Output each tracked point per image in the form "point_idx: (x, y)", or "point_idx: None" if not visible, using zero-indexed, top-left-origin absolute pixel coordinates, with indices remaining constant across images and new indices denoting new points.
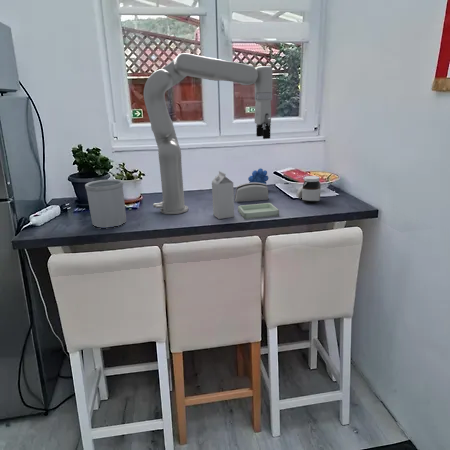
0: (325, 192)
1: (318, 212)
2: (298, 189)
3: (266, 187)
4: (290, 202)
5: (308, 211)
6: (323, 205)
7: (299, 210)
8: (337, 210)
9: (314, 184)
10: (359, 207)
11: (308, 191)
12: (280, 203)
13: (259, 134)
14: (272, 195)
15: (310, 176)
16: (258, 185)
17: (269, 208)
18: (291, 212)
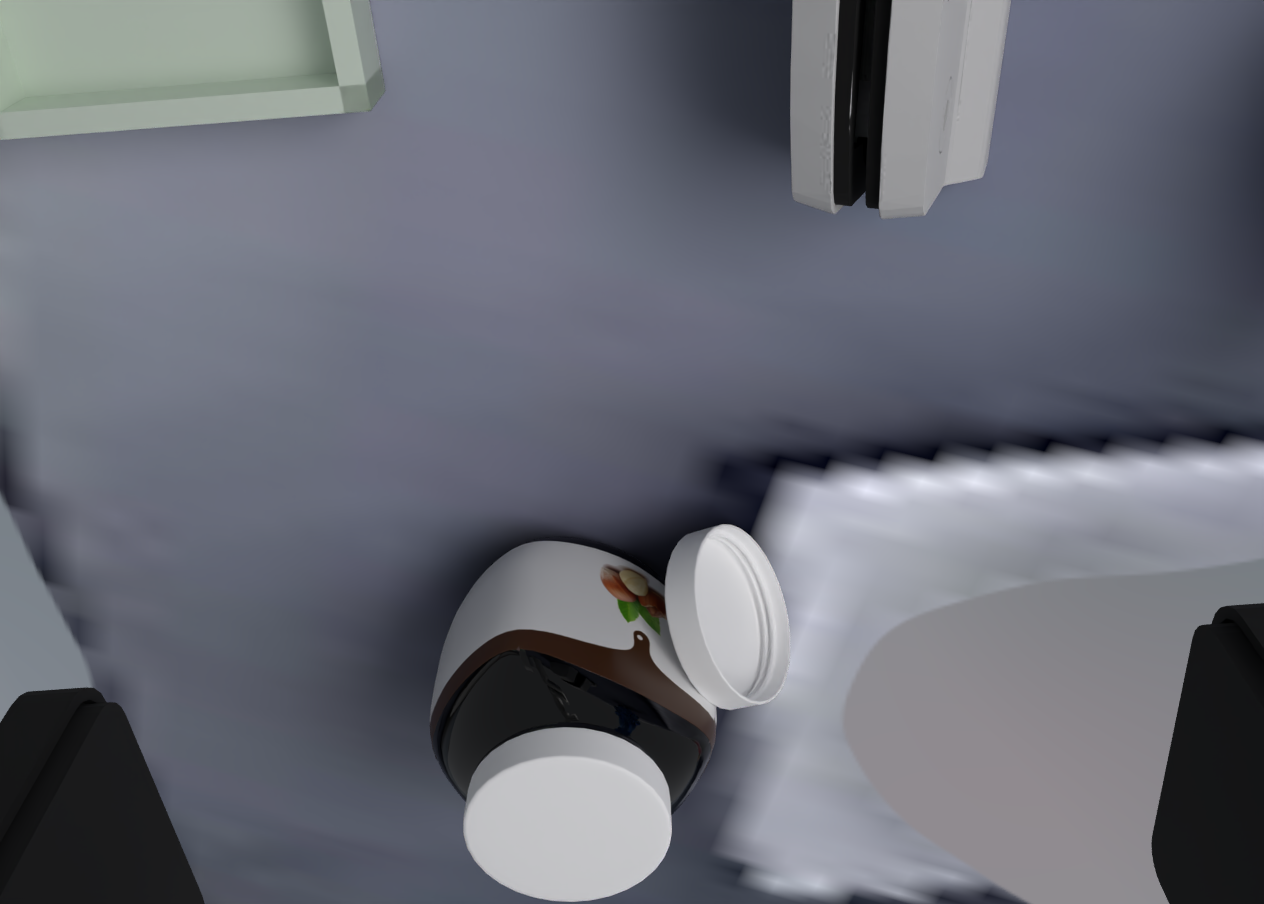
0: (897, 823)
1: (152, 561)
2: (695, 591)
3: (802, 188)
4: (602, 402)
5: (196, 484)
6: (406, 672)
7: (242, 408)
8: (213, 725)
9: (455, 776)
10: (294, 892)
11: (454, 655)
12: (587, 276)
13: (1211, 779)
14: (1023, 271)
15: (632, 833)
16: (820, 52)
17: (300, 63)
18: (165, 303)
